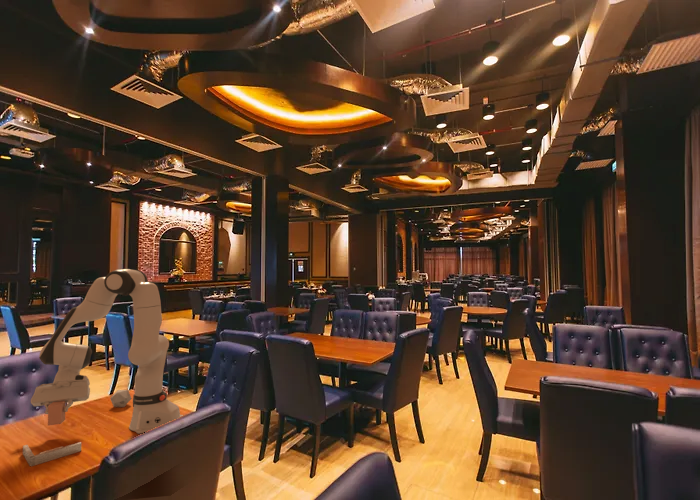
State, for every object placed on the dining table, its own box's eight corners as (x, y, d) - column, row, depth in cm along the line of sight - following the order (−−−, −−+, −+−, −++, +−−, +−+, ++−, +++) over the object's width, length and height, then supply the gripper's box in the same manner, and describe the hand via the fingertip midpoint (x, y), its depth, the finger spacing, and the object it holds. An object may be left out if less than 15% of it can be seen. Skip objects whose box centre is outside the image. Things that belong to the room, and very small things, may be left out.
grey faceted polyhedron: (115, 411, 183) (129, 394, 186) (103, 402, 185) (117, 384, 188) (124, 412, 191) (138, 394, 194) (112, 402, 192) (126, 385, 196)
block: (65, 419, 158) (65, 400, 158) (60, 423, 154) (61, 404, 154) (52, 421, 156) (52, 402, 157) (47, 425, 152) (48, 405, 153)
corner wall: (22, 453, 140) (23, 445, 140) (71, 440, 151) (71, 432, 151) (30, 466, 131) (30, 457, 131) (81, 451, 142) (81, 442, 142)
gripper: (34, 381, 159) (22, 412, 149) (90, 375, 166) (82, 405, 156) (39, 388, 163) (28, 419, 153) (93, 383, 170) (86, 412, 160)
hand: (56, 412), depth 155 cm, fingers closed on block, 4 cm apart
